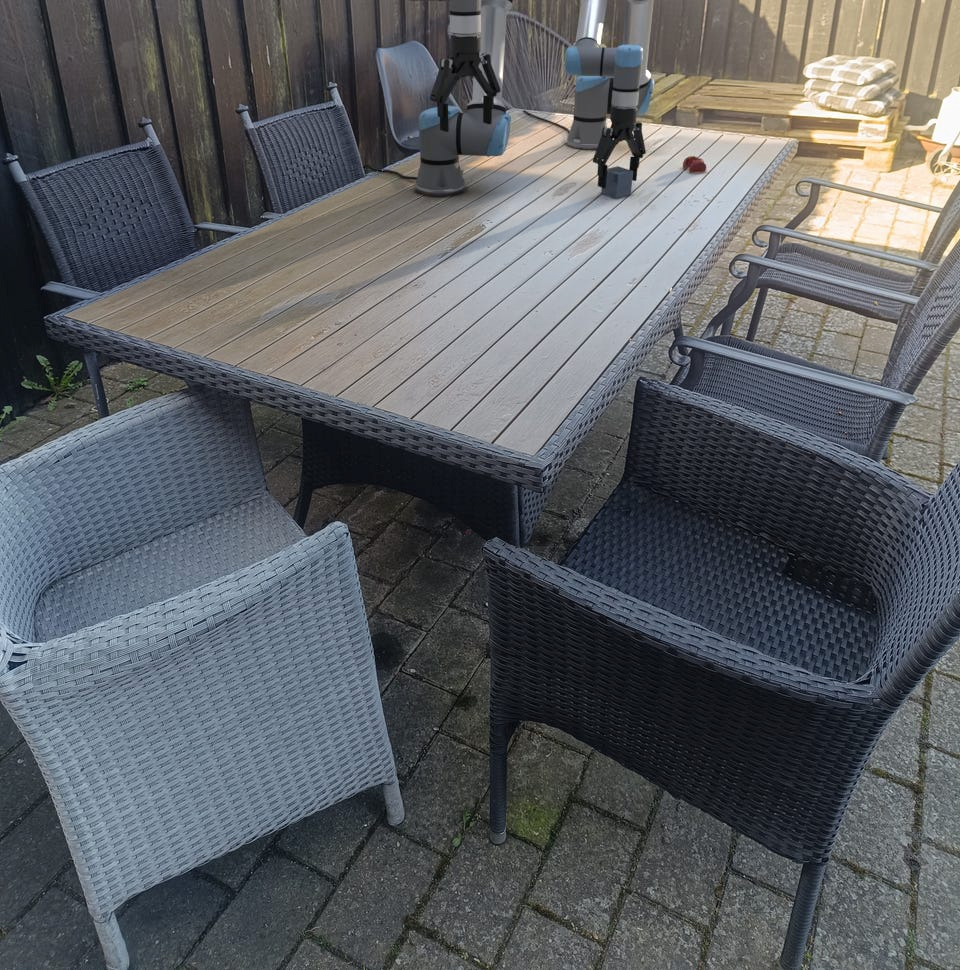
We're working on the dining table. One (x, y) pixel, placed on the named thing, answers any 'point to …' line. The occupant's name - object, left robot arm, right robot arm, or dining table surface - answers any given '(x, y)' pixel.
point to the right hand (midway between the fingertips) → (617, 183)
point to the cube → (618, 182)
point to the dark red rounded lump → (694, 164)
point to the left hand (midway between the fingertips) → (466, 127)
